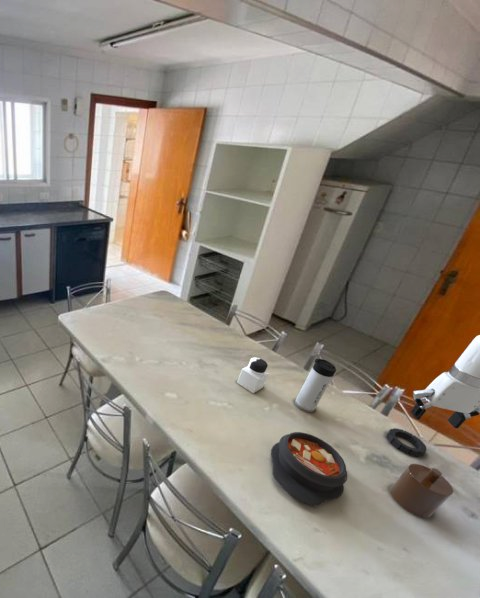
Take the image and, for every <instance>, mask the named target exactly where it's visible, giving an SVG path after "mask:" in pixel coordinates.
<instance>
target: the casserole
mask: <svg viewBox="0 0 480 598" xmlns="http://www.w3.org/2000/svg"><path fill="white" fill-rule="evenodd" d="M270 458H271V463H272V476H273V478H274V480H275V481H276V483H278V485H279V486H280V487H281V488H283V490H284V491H286V493H288V494H290V495H291V496H292V497H293V498H295V499H297V500H298V501H300V502H303V503H304V504H307V505H310V506H312V507H313V506H314V507H319V506H320V505H322V504H324V503H326V502H328V501H333V500H336V499H338V498H340V497H341V496H342V495H343V494H344V490H345V486H344V485H345V484H346V482H347V481H348V471H347V465H346V463H345V460H344V459H343V457H342V456H341V455H340V453H339V452H338V451H337V450H336V449H335V448H334V447H333V446H331V445H330V444H329V443H328V442H327V441H324V440H323V439H321V438H319V437H317V436H315V435H313V434H311V433H308V432H307V433H306V432H301V431H294V432H290V433H288V434H285V435H283V436H282V437H281V438H280V439H279V441H278V442H276V443H275V444H274V445H272V447H271V450H270Z"/></svg>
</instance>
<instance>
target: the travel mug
mask: <svg viewBox="0 0 480 598" xmlns="http://www.w3.org/2000/svg"><path fill="white" fill-rule="evenodd" d="M336 372H337V369H336V366H335V365H334V364H333V363H331V362H330V361H328V360H326V359H323V358H315V359H314V364H313V366H311V369H310V371H309V372H308V375H307V377H306V379H305V381H304V383H303V384H302V386H301V389H300V390H299V393H298V395H297V397H296V398H295V400H294V404H295V405H296V407H297V408H298V409H300V410H301V411H303V412H307V413H313V412H315V410H316V408H317V406H318V404H319V403H320V401H321V399H322V397H323V395H324V394H325V392H326V390H327V388H328V386H329V385H330V383H331V381H332V379H333V378H334V375H335V373H336Z"/></svg>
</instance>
